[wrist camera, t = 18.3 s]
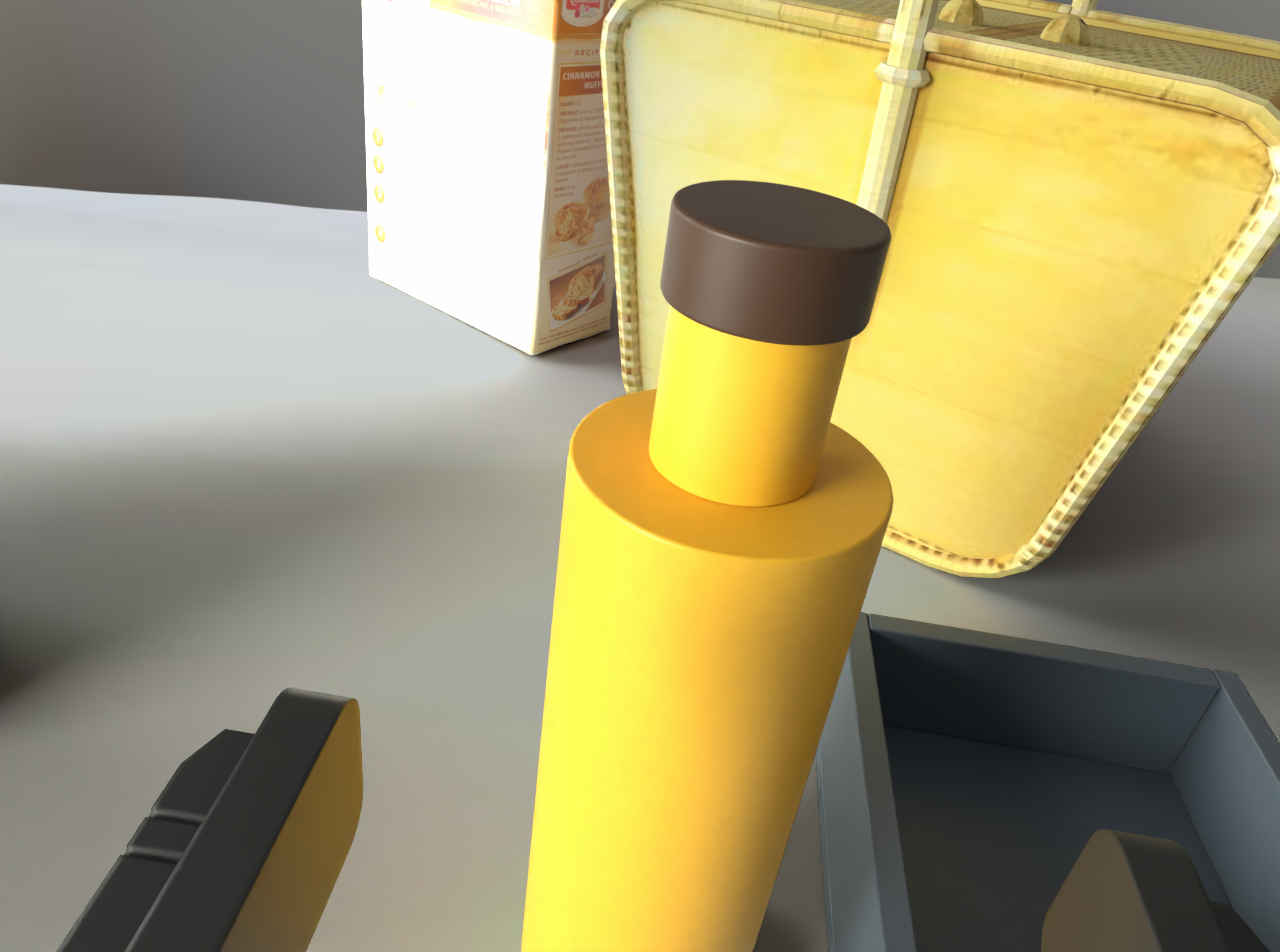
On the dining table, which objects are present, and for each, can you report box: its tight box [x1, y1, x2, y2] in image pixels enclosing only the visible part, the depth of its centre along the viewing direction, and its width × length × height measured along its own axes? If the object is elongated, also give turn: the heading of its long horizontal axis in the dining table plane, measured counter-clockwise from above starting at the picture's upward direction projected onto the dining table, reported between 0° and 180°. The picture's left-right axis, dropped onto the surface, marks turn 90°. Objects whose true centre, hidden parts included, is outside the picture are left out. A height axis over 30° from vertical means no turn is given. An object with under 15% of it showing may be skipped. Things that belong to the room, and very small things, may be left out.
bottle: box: [522, 180, 894, 952], centre depth 20 cm, size 6×6×20 cm
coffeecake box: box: [362, 0, 616, 356], centre depth 55 cm, size 15×7×20 cm, turn 50°
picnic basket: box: [600, 0, 1280, 578], centre depth 45 cm, size 29×26×30 cm
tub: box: [816, 612, 1280, 952], centre depth 26 cm, size 13×13×5 cm
